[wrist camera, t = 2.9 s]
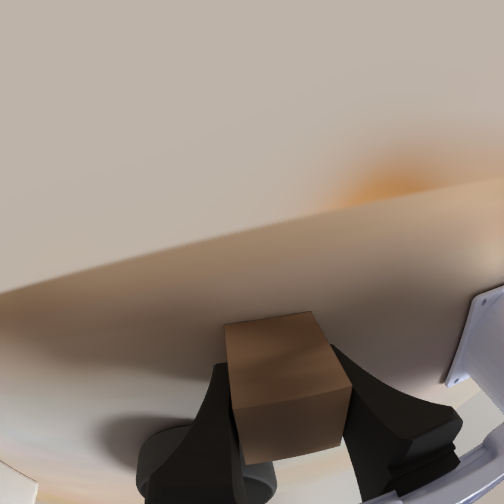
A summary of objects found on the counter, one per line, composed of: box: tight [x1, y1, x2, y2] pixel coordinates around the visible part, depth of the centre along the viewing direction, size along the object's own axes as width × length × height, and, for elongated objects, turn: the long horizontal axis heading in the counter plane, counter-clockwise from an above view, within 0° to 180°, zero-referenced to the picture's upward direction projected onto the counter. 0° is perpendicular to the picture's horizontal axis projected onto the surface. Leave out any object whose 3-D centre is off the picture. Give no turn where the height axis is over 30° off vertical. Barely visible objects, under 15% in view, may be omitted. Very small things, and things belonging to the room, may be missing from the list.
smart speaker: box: [136, 426, 277, 504], centre depth 15 cm, size 9×9×4 cm
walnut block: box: [224, 311, 352, 465], centre depth 12 cm, size 4×4×5 cm
